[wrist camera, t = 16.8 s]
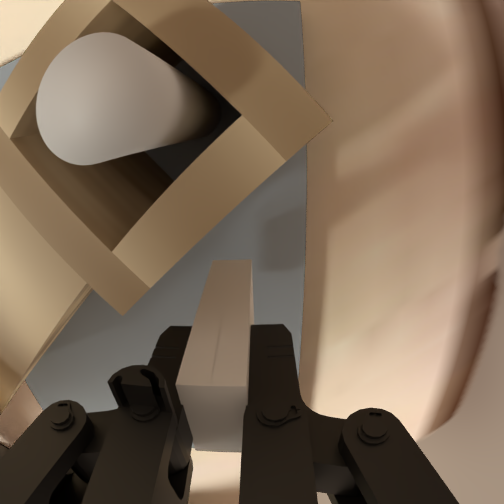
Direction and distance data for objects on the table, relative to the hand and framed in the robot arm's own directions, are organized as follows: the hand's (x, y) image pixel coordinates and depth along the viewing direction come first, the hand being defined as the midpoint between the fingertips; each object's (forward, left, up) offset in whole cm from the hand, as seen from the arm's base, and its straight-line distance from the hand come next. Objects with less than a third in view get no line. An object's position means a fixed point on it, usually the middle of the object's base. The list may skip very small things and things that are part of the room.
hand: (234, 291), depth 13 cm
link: (-6, +3, -2) cm, 7 cm away
